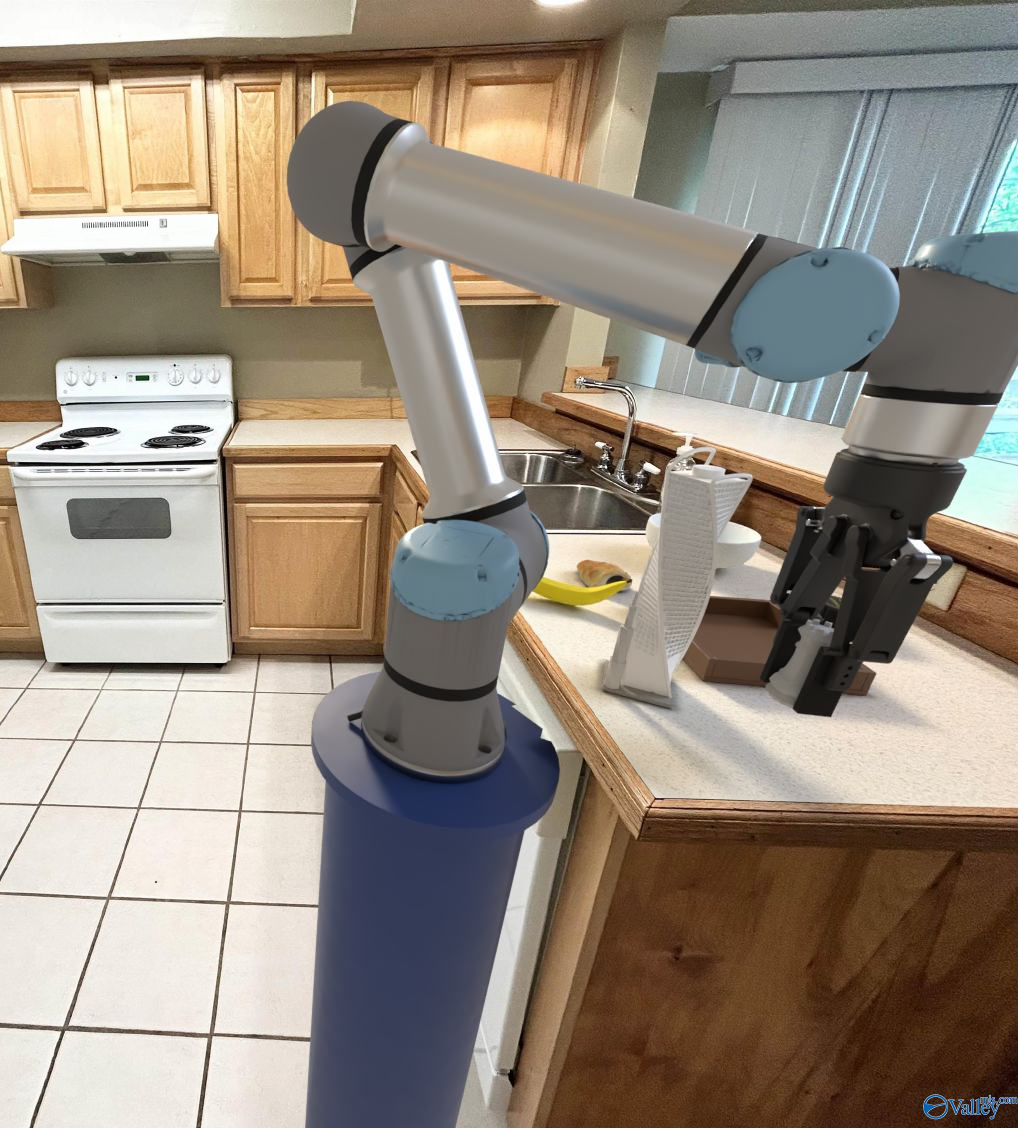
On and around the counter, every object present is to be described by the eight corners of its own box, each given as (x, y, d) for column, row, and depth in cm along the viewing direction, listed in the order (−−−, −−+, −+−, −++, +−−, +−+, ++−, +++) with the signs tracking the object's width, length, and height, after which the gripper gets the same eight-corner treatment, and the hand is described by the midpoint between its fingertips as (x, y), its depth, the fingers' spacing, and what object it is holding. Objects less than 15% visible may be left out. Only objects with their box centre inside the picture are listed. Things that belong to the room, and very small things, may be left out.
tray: (702, 680, 72) (709, 658, 71) (636, 609, 90) (641, 590, 89) (866, 695, 69) (877, 673, 68) (764, 618, 87) (771, 600, 86)
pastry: (564, 571, 103) (569, 550, 102) (601, 570, 104) (606, 550, 102) (594, 594, 95) (600, 572, 93) (635, 593, 95) (641, 572, 94)
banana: (495, 582, 99) (501, 547, 96) (623, 615, 88) (634, 576, 85) (489, 588, 96) (495, 552, 94) (620, 622, 86) (631, 582, 83)
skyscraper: (605, 657, 77) (663, 441, 66) (679, 676, 73) (753, 449, 62) (601, 689, 70) (665, 454, 59) (683, 711, 66) (766, 464, 55)
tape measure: (873, 643, 81) (884, 618, 79) (809, 630, 84) (819, 607, 82) (856, 622, 86) (867, 599, 85) (797, 611, 89) (806, 589, 88)
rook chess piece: (807, 718, 54) (842, 642, 51) (753, 691, 57) (782, 619, 54) (833, 707, 55) (869, 632, 52) (779, 681, 59) (809, 610, 56)
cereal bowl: (754, 589, 97) (769, 549, 94) (637, 568, 105) (647, 530, 102) (743, 557, 110) (756, 521, 107) (640, 540, 118) (649, 506, 115)
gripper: (1074, 485, 39) (914, 765, 48) (870, 436, 55) (779, 653, 64) (943, 477, 40) (811, 753, 49) (780, 432, 56) (703, 646, 65)
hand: (793, 696), depth 56 cm, fingers closed on rook chess piece, 4 cm apart
